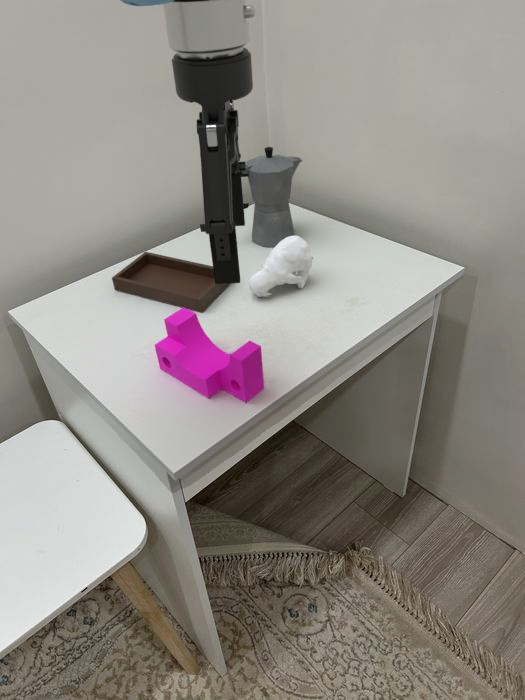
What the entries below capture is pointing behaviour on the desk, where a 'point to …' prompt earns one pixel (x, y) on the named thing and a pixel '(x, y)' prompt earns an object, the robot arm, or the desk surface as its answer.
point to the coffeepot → (271, 196)
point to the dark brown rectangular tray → (170, 281)
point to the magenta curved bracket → (208, 360)
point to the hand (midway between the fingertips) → (231, 251)
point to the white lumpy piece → (283, 266)
